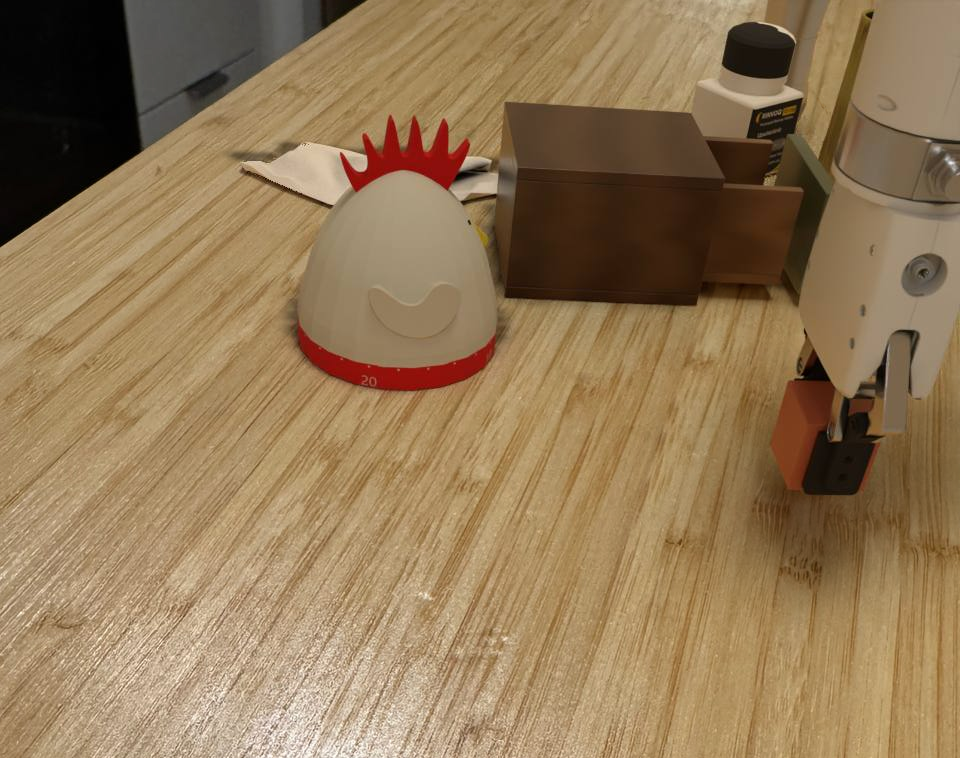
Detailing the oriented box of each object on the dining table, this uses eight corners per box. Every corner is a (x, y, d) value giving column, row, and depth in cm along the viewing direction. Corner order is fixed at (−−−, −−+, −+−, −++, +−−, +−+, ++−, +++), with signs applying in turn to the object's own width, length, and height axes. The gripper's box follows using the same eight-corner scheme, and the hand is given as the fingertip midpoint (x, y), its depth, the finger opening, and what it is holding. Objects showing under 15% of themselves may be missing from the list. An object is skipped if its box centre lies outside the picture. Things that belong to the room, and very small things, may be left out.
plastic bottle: (761, 109, 120) (815, -113, 106) (812, 131, 117) (874, -96, 103) (721, 120, 117) (770, -108, 103) (772, 142, 113) (830, -91, 100)
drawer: (864, 234, 97) (894, 139, 91) (908, 300, 88) (944, 200, 83) (617, 222, 95) (633, 124, 89) (639, 288, 87) (658, 184, 81)
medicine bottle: (736, 186, 105) (769, 45, 96) (680, 159, 108) (706, 21, 100) (785, 171, 108) (821, 34, 100) (729, 145, 112) (759, 11, 104)
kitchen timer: (514, 385, 77) (538, 161, 66) (308, 394, 74) (301, 162, 64) (473, 288, 87) (489, 79, 76) (290, 292, 84) (281, 76, 73)
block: (841, 445, 69) (863, 381, 66) (863, 491, 66) (887, 425, 63) (769, 444, 69) (787, 379, 65) (787, 490, 65) (808, 424, 62)
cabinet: (667, 232, 96) (691, 112, 90) (696, 306, 87) (725, 178, 80) (494, 224, 95) (504, 101, 88) (504, 297, 86) (517, 167, 79)
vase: (883, 182, 108) (936, 17, 98) (865, 203, 104) (918, 33, 94) (822, 165, 110) (868, 2, 100) (802, 185, 106) (847, 17, 96)
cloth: (213, 195, 95) (211, 168, 93) (264, 136, 105) (262, 111, 103) (521, 241, 93) (523, 213, 91) (543, 177, 103) (545, 151, 101)
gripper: (1068, 234, 49) (925, 559, 61) (934, 90, 60) (838, 387, 73) (898, 228, 48) (789, 557, 61) (797, 84, 60) (724, 385, 73)
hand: (817, 461), depth 67 cm, fingers closed on block, 4 cm apart
